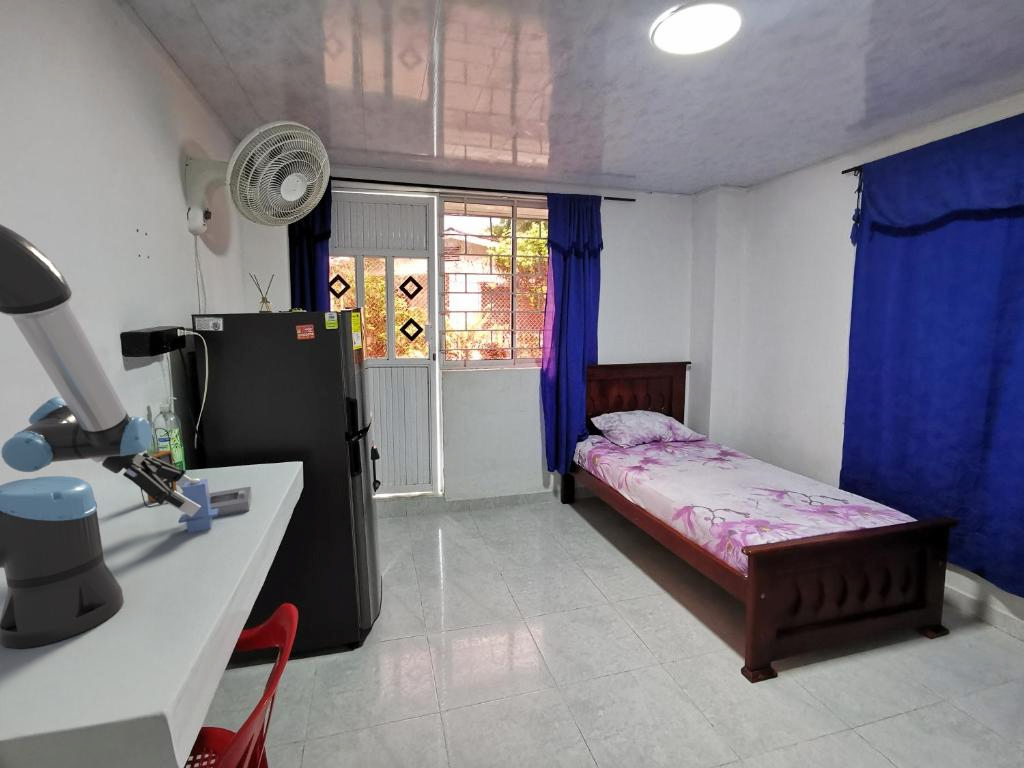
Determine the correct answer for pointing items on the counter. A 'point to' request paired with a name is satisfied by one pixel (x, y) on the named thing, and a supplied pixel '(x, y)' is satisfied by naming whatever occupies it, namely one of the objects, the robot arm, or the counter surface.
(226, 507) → the plate
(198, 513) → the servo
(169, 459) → the multimeter
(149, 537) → the counter surface
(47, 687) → the counter surface
